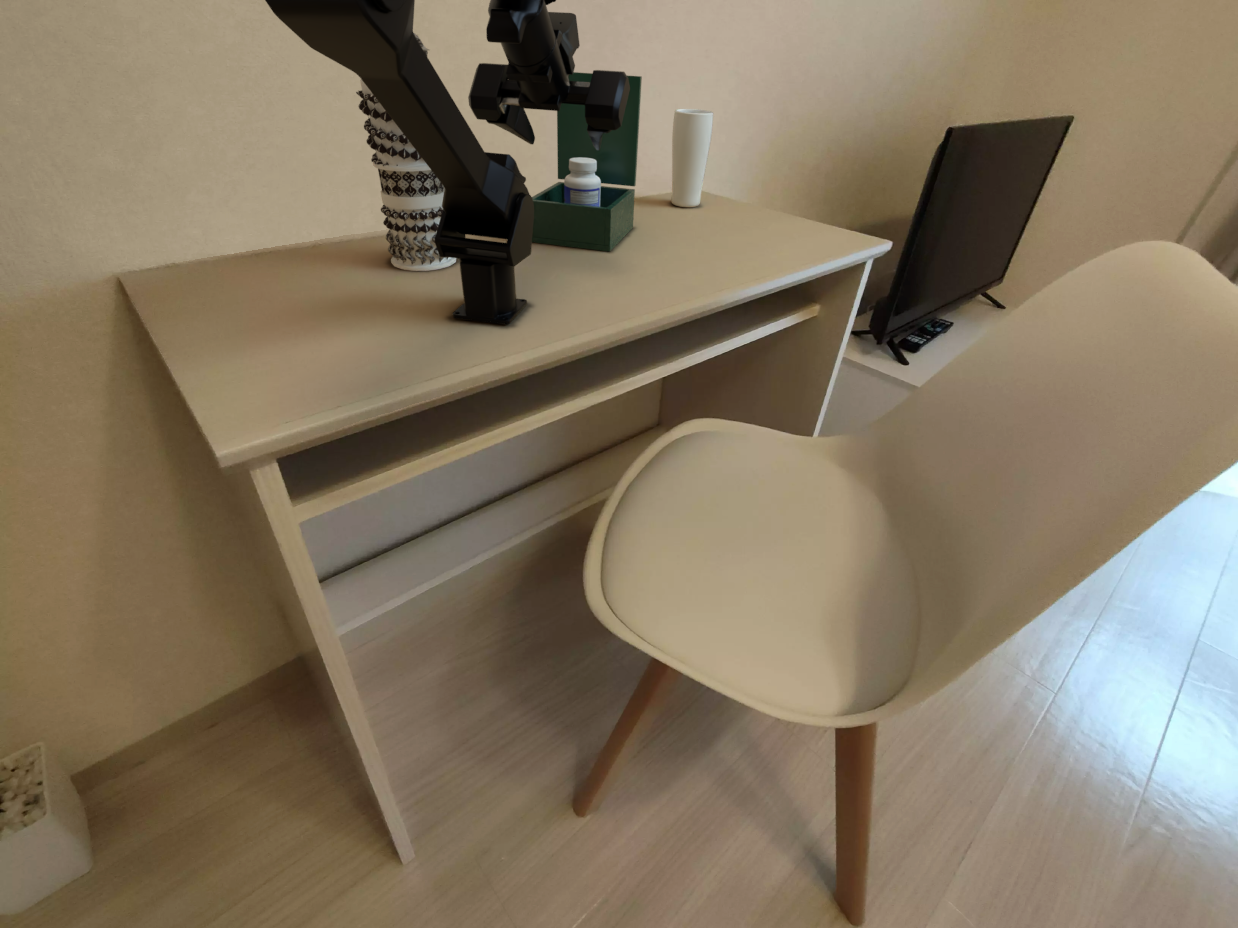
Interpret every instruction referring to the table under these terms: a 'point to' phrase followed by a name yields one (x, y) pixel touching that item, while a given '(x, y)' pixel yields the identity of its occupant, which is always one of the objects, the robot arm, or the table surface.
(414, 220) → the black and white cylinder
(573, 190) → the pill bottle
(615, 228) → the green open box
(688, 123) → the white tumbler
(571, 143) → the green box lid
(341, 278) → the table surface
